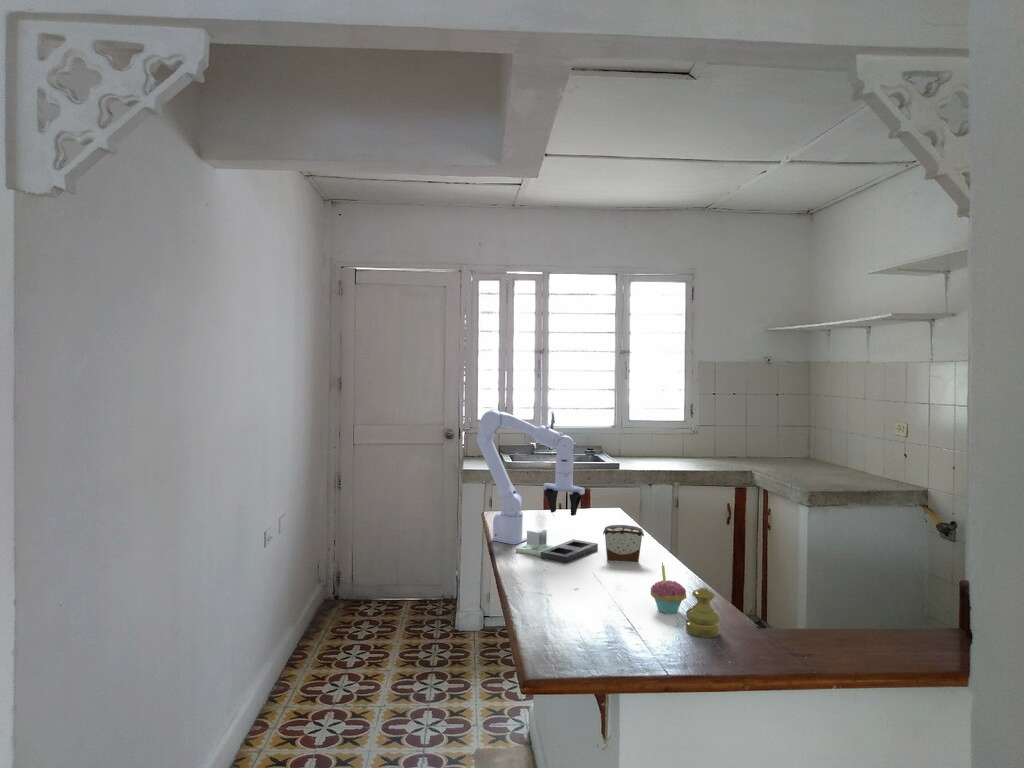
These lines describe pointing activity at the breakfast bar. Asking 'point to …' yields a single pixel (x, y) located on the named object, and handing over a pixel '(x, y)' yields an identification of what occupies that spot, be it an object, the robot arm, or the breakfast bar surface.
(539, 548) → the grey rectangular block
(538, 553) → the parts tray
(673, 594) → the cupcake
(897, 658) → the breakfast bar surface
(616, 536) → the food container
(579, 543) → the dark grey rectangular frame
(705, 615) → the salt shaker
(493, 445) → the robot arm
